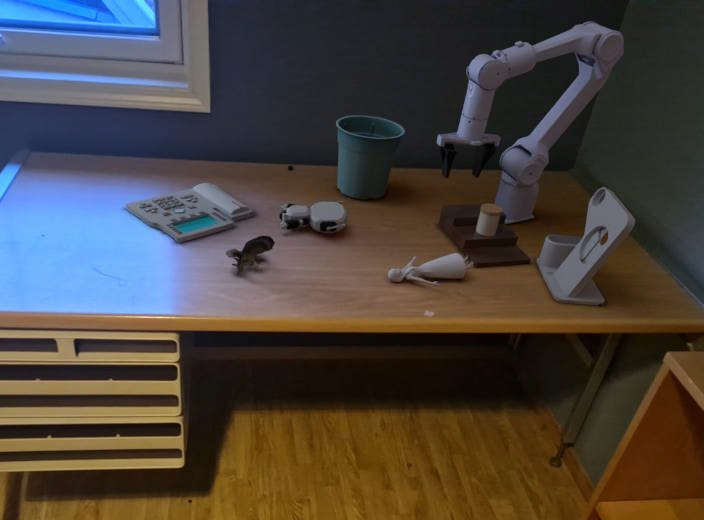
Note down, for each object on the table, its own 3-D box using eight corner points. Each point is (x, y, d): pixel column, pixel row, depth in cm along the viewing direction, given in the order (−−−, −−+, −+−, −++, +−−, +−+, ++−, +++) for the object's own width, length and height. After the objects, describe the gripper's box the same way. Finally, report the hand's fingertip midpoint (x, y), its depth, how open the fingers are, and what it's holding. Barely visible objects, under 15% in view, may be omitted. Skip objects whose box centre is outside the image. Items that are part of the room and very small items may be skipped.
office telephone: (211, 177, 159) (263, 208, 148) (211, 188, 160) (262, 219, 149) (124, 198, 146) (174, 233, 135) (125, 209, 147) (174, 245, 136)
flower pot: (369, 173, 175) (377, 111, 165) (407, 198, 164) (419, 133, 154) (316, 182, 168) (322, 118, 158) (353, 208, 157) (361, 141, 147)
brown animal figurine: (263, 278, 127) (283, 251, 132) (243, 248, 123) (264, 221, 129) (235, 285, 131) (255, 259, 137) (215, 256, 128) (236, 231, 134)
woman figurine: (485, 268, 129) (400, 281, 125) (481, 287, 132) (398, 300, 128) (458, 240, 138) (378, 251, 134) (455, 258, 141) (376, 270, 137)
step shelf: (437, 225, 154) (442, 205, 150) (487, 222, 157) (493, 202, 154) (475, 267, 139) (481, 246, 136) (529, 263, 142) (536, 242, 139)
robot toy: (278, 240, 143) (347, 241, 143) (277, 221, 140) (348, 221, 140) (280, 215, 153) (345, 216, 153) (280, 197, 150) (346, 197, 150)
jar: (486, 225, 149) (492, 202, 145) (500, 234, 145) (507, 210, 142) (470, 228, 146) (476, 205, 143) (484, 237, 143) (491, 214, 140)
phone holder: (534, 258, 144) (560, 180, 133) (580, 262, 144) (609, 184, 133) (555, 302, 130) (586, 218, 119) (606, 306, 130) (641, 222, 119)
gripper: (452, 121, 138) (438, 183, 146) (513, 122, 141) (496, 182, 150) (438, 110, 143) (425, 171, 151) (497, 111, 147) (482, 170, 155)
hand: (460, 176), depth 151 cm, fingers open, 7 cm apart
